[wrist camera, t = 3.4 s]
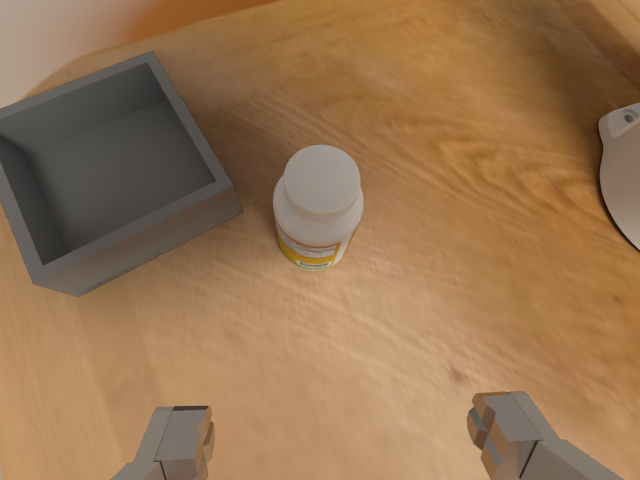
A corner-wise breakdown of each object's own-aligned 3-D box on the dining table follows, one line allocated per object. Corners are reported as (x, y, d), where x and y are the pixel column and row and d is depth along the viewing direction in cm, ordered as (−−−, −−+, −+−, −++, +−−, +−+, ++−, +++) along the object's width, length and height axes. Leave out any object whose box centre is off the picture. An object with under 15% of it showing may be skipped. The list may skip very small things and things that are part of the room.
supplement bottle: (317, 193, 28) (328, 114, 19) (362, 242, 27) (396, 184, 18) (263, 232, 27) (247, 168, 18) (308, 286, 26) (315, 247, 17)
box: (172, 93, 31) (152, 50, 26) (243, 211, 27) (233, 185, 23) (19, 157, 28) (-32, 120, 23) (78, 297, 25) (33, 284, 20)
